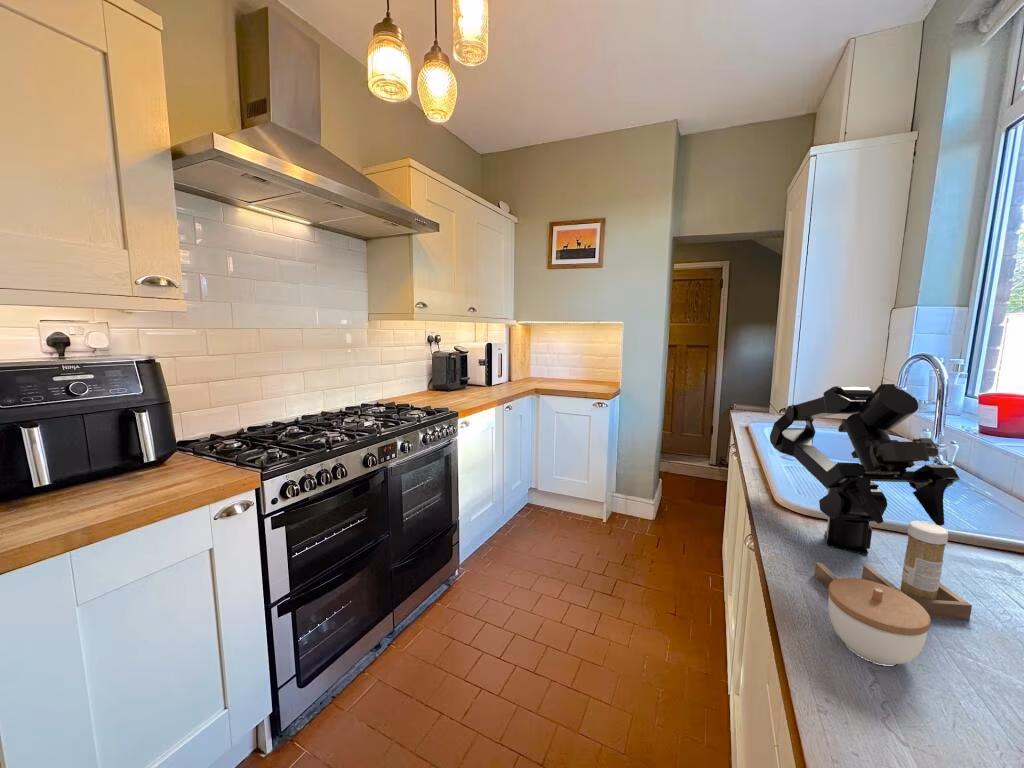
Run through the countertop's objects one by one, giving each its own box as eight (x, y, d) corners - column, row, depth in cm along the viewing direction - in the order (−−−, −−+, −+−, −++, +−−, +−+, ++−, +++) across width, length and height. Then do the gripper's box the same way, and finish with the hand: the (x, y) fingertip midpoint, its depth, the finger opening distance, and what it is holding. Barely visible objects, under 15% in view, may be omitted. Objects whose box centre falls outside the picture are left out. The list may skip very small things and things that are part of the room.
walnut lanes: (814, 574, 76) (815, 562, 76) (916, 580, 74) (918, 568, 74) (850, 612, 66) (852, 598, 66) (969, 619, 64) (972, 605, 64)
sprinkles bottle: (896, 589, 72) (907, 516, 70) (933, 599, 69) (945, 524, 67) (899, 603, 68) (910, 527, 66) (939, 615, 65) (951, 536, 63)
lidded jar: (807, 635, 62) (813, 577, 60) (850, 614, 66) (856, 560, 65) (895, 693, 52) (905, 627, 51) (939, 664, 56) (949, 602, 55)
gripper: (840, 419, 74) (879, 505, 65) (958, 421, 71) (1015, 510, 62) (810, 448, 83) (840, 527, 74) (914, 450, 80) (958, 532, 71)
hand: (910, 524), depth 70 cm, fingers open, 9 cm apart
